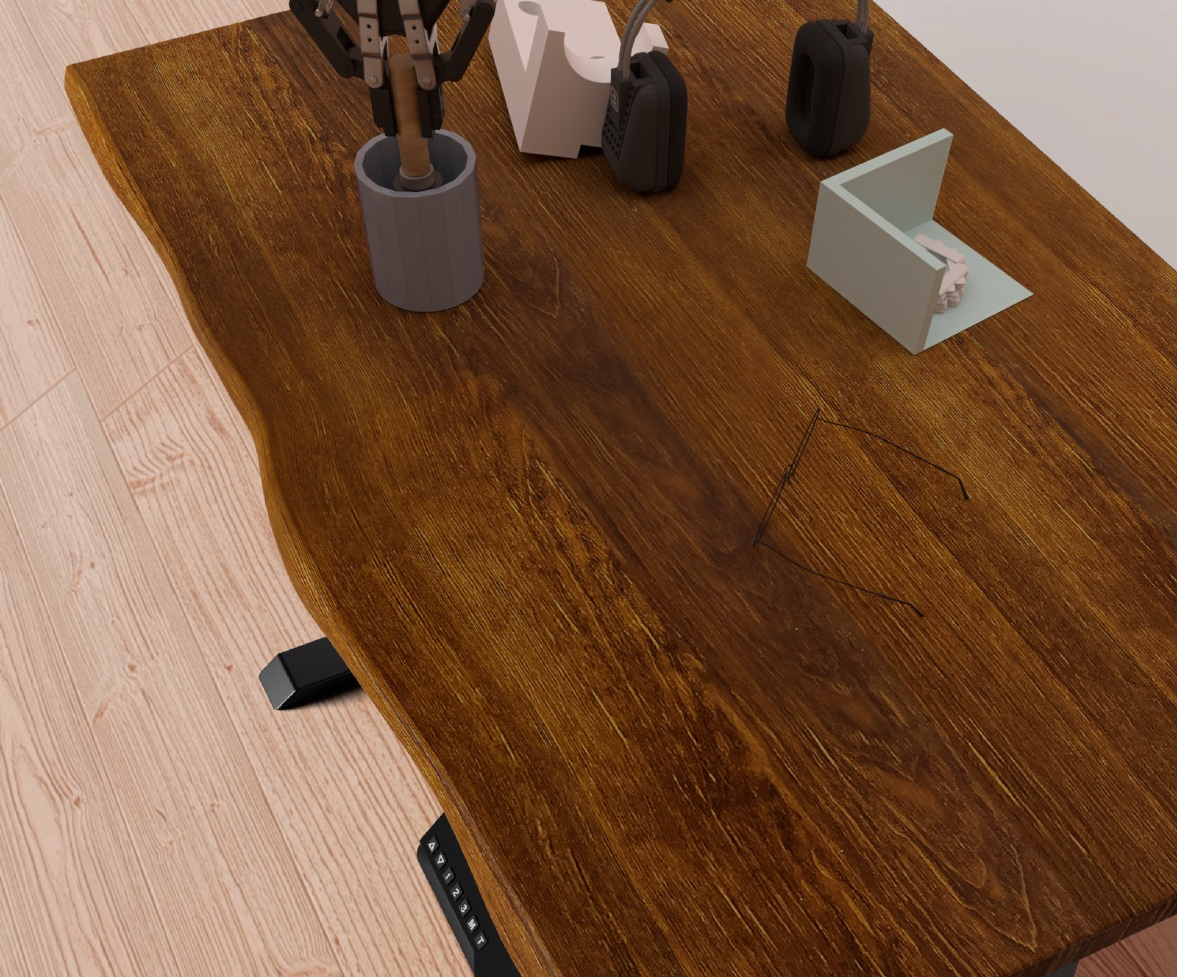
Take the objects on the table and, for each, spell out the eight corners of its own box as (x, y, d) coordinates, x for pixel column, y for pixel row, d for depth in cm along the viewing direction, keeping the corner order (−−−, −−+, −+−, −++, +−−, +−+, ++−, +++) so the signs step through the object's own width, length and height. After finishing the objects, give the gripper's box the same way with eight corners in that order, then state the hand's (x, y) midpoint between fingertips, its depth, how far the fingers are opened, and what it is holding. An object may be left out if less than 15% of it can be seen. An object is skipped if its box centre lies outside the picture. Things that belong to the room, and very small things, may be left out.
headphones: (838, 112, 109) (880, -133, 94) (871, 153, 106) (920, -95, 90) (595, 161, 105) (596, -87, 89) (621, 205, 101) (626, -46, 86)
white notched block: (632, 165, 107) (668, 48, 99) (520, 151, 104) (548, 29, 96) (591, 53, 118) (621, -60, 110) (488, 38, 115) (511, -80, 107)
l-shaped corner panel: (914, 355, 91) (936, 270, 85) (806, 266, 97) (820, 181, 91) (1033, 294, 95) (1063, 209, 89) (923, 212, 101) (943, 128, 95)
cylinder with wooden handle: (397, 253, 93) (370, 75, 81) (405, 223, 95) (380, 46, 84) (446, 255, 92) (426, 77, 81) (452, 225, 95) (434, 47, 83)
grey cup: (364, 309, 94) (344, 194, 86) (384, 239, 99) (365, 123, 91) (477, 314, 93) (467, 199, 86) (490, 243, 99) (482, 128, 91)
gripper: (503, -165, 75) (517, 104, 88) (272, -171, 75) (322, 96, 89) (488, -106, 70) (505, 167, 84) (242, -114, 71) (299, 159, 84)
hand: (410, 130), depth 86 cm, fingers closed on cylinder with wooden handle, 2 cm apart
